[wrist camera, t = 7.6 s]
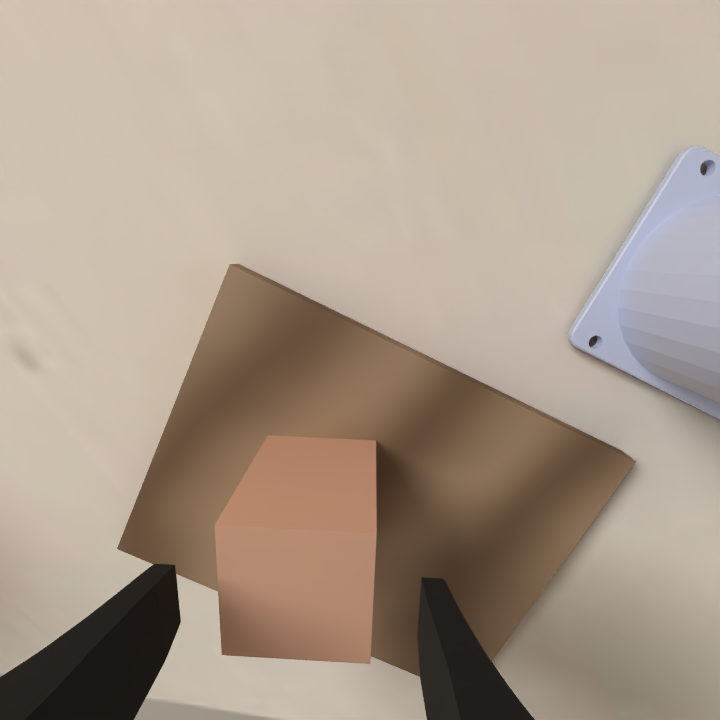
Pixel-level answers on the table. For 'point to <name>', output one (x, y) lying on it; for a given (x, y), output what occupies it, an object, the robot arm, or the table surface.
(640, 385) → the table surface
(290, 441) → the block
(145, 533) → the board
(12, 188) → the table surface
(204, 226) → the table surface
